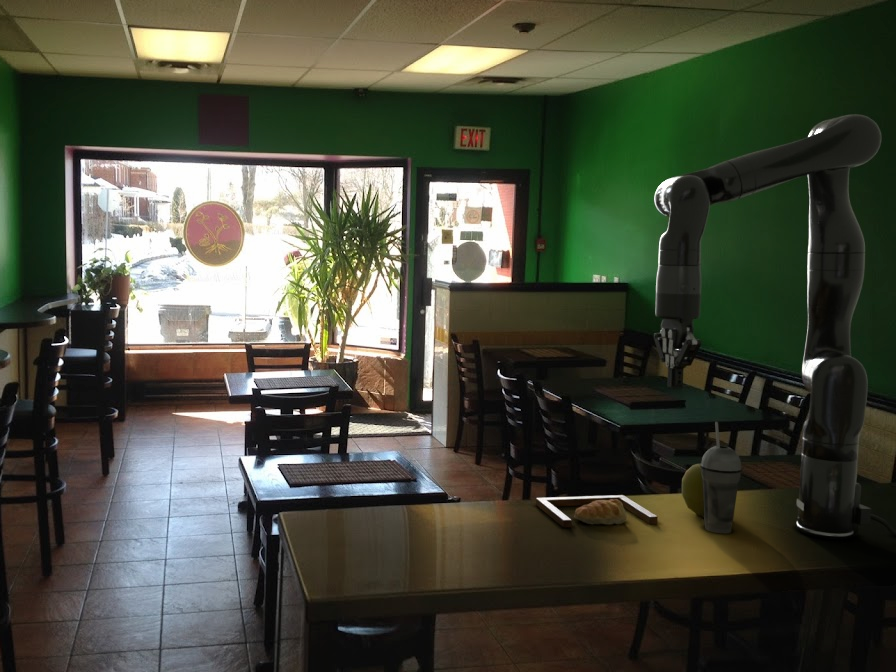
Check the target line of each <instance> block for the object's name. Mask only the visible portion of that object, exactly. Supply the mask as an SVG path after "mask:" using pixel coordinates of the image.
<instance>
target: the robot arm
mask: <svg viewBox="0 0 896 672" xmlns="http://www.w3.org/2000/svg"><path fill="white" fill-rule="evenodd" d="M881 144H882V131H881V129H880V127H879V125H878V123H877V122H875V120H873V119H871V118H870V117H869V116H867V115H863V114H857V113H855V114H846V115H840V116H837V117H832V118H829V119H825V120H822V121H820V122H818V123H817V124H816V125H814V126H813V127H812V128H811V130H810V132H809V134H808V136H807V137H804V138H802V139H798V140H795V141H792V142H787V143H785V144H781V145H777V146H773V147H769V148H764V149H761V150H756V151H753V152H750V153H746V154H743V155H740V156H736V157H734V158H730V159H727V160H725V161H722V162H719V163H717V164H715V165H712V166H710V167H708V168H704V169H700V170H696V171H693V172H688V173H684V174H681V175H677V176H674V177H671V178H668V179H666V180H665V181H663V182H661V184H660V185H659V186H658V187H657V189H656V191H655V193H654V205H655V208H656V209H657V210H658V211H659V212H660V213H661V214H662V215H664V216H665V217H669V219H668V224H667V225H668V226H667V230H666V231H665V232H664V233H662V234H661V236H660V238H659V245H658V267H657V273H656V279H655V280H656V282H655V284H656V285H655V308H654V309H655V311H654V312H655V313H654V314H655V317H657V318H659V319H661V324H660V331H659V332H655V333H653V340H654V343H655V346H656V349H657V352H658V355H659V359H660V362H661V363H665V364H664V365H665V367H666V368H667V381H666V383H667V384H666V385H667V388H668V389H669V390H682V389H683V388H684V369H686V368H687V367H690V366H692V364H693V362H694V360H695V358H696V356H697V355H698V352H699V350H700V348H701V347H702V340H701V339H699V338H696V337H695V335H694V333H695V328H694V322H693V321H694V320H697V319H700V317H701V304H702V303H701V302H702V271H701V268H702V267H701V264H702V263H701V262H702V239H703V235H704V233H705V229H706V225H707V221H708V217H709V214H710V213H709V212H710V208H711V206H712V205H717V204H724V203H730V202H733V201H737V200H739V199H742V198H745V197H748V196H751V195H755V194H756V193H757V194H758V193H760V192H763V191H765V190H768V189H771V188H773V187H776V186H779V185H782V184H784V183H786V182H790V181H792V180H796V179H799V178H801V177H805V176H807V181H808V182H807V183H808V195H809V206H808V207H809V209H808V245H807V264H806V265H807V268H806V269H807V270H806V271H807V274H806V275H807V293H806V294H807V295H806V297H807V300H806V301H807V302H806V303H807V330H806V331H807V332H806V338H805V345H804V353H803V359H802V365H801V379H802V383H803V385H804V387H805V389H806V390H807V391H808V393H810V401H809V411H808V417H807V418H806V420H805V421H804V422H803V424H802V439H801V456H800V457H801V458H800V472H799V487H798V489H799V491H798V498H796V507H797V520H796V527H795V528H796V530H798V531H799V532H801V533H803V534H804V535H808V536H811V537H814V538H820V539H826V540H839V541H840V540H849V539H852V538H853V537H858V536H859V526H871V520H873V521H876V522H878V523H879V524H881V525H882V526H884V528H886V529H887V531H888V532H889V533H890V534H891V535H893V536H894V537H896V530H895V529H894V527H892V525H891V524H890V523H889V522H888V521H887V520H885V519H884V518H882V517H879V516H878V515H875V514H873V513H872V508H871V507H869V506H866V505H863V504H861V492H862V485H861V483H859V482H857V477H858V461H859V446H860V445H859V443H860V435H861V433H862V430H863V428H864V425H865V419H866V408H867V401H868V399H867V398H868V384H869V383H868V382H869V381H868V375H867V371H866V369H865V367H864V365H863V364H862V363H861V362H860V361H859V360H858V359H856V358H855V357H854V356H853V357H852V353H851V352H852V350H851V325H852V319H853V316H854V313H855V310H856V307H857V304H858V301H859V298H860V296H861V295H860V294H861V291H862V289H863V283H864V278H865V267H866V265H865V264H866V244H865V237H864V234H863V231H862V229H861V226H860V224H859V222H858V220H857V217H856V215H855V212H854V211H853V210H854V209H853V207H852V204H851V201H850V194H849V193H850V192H849V190H850V189H849V188H850V187H849V185H850V183H849V182H850V170H851V169H852V168H857V167H859V166H862V165H864V164H866V163H868V162H869V161H870V160H872V159H873V158H874V157H875V156H876V154H877V153H878V152H879V149H880V147H881Z"/></svg>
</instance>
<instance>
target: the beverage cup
mask: <svg viewBox="0 0 896 672" xmlns="http://www.w3.org/2000/svg"><path fill="white" fill-rule="evenodd" d="M714 427H715V441H716V445H714V446H712V447H710V448H708V449H707V451H705V453H704V454H703V456H702V458H701V462H700V464H701V465H700V467H701V474H702V478H703V498H704V516H703V518H704V529H705V530H706V531H708V532H712V533H715V534H729V533H731V532H732V527H733V522H734V516H735V510H736V509H735V508H736V502H737V496H738V488H739V482H740V480H741V476H742V472H743V467H742V462H741V461H742V460H741V458H740V456H739V455H738V453H737V452H736V451H735V450H734V449H733V448H731V447H730V446H726V445H720V443H721V442H720V429H719V421H715V422H714Z"/></svg>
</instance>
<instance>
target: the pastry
mask: <svg viewBox="0 0 896 672" xmlns="http://www.w3.org/2000/svg"><path fill="white" fill-rule="evenodd" d="M573 518H574V519H576V520H578V521H581V522H582V523H586V524H587V525H613V524H616V525H622V524H624V523H625V521H626V520H627V519H628V518H627V513H626V508H624V507H623V504H622V503H621V502H620V501H619V500H617V499H615V500H613V499H610V500H598V501H597V500H596V501H593V502H592V503H590V504H588V505H581V506H580V507H579V506H578V508H575V511H574V515H573Z"/></svg>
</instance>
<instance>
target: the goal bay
mask: <svg viewBox="0 0 896 672" xmlns="http://www.w3.org/2000/svg"><path fill="white" fill-rule="evenodd" d="M574 499H578V500H574ZM610 499H613V500H615V499H617V500H619V501H620V502H621V503H622V504H623V508H624V509H625V510H627V511H629V512H631V513H632V514H633V515H635V516H637V517H638V518H640V519H641V520H643V521H644V522H646V523H647V524H649V525H658V518H659V517H658V516H657V515H656V514H654V513H653V512H651V511H649V510H648V509H646V508H644V507H643V506H641V505H640V504H639V503H636V502H634V501H633V500H632V499H630V498H628V497H627V496H625V495H624V494H617V495H615V494H614V495H613V494H612V495H585V496H555V497H536V498H535V505H536V506H537V507H538V508H539V509H540V510H542V512H544V513H545V514H546V515H548V516H549V517H550V518H551V519H553V521H555V522H556V523H557V524H559V526H561V527H562V528H572V526H573V525H572V522H573V520H572V519H571V518H570V517H569V516H567V514H565V513H564V512H562V511H561V509H558V508H557V507H572V506H573V507H576V506H578V507H579V506H580V507H581V506H583V505H588V504H590V503H592V502H593V501H596V500H597V501H598V500H610ZM555 500H558V501H555Z"/></svg>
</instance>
